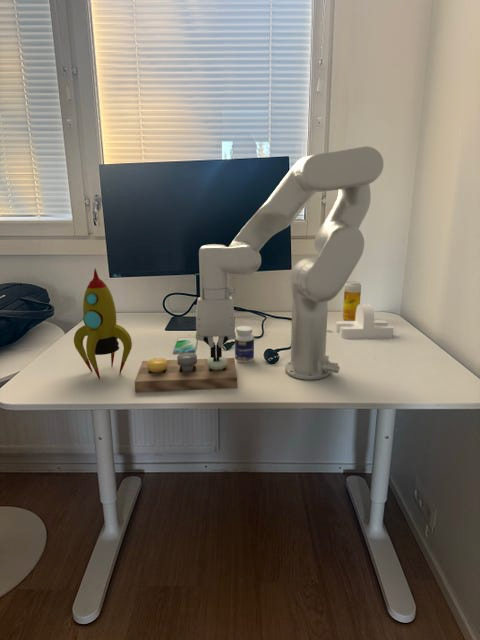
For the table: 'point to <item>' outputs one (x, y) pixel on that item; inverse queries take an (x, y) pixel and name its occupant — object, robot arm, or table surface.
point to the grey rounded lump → (187, 361)
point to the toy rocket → (100, 326)
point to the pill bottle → (244, 344)
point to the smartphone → (185, 346)
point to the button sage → (217, 364)
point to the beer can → (351, 300)
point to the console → (186, 377)
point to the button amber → (157, 365)
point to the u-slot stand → (364, 325)
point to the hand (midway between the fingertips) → (216, 359)
